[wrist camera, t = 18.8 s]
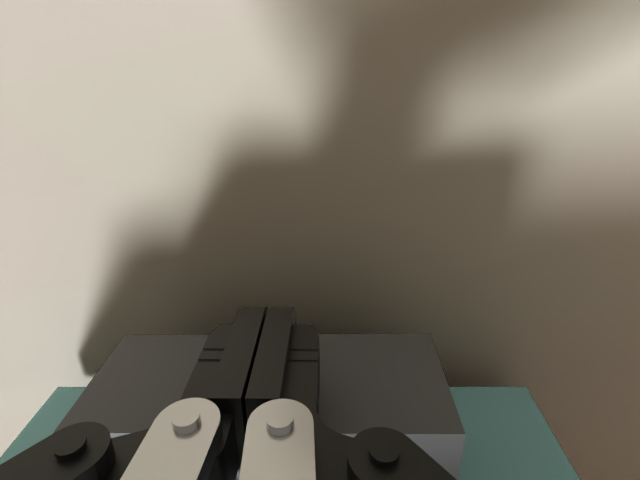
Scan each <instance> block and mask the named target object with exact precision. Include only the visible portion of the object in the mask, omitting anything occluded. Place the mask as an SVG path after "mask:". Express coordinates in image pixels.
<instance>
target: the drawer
mask: <svg viewBox="0 0 640 480" xmlns="http://www.w3.org/2000/svg"><path fill="white" fill-rule="evenodd" d="M318 335H319V347H320V391H319V415H318V416H319V418H320V419H321V420H322V422H323V423H324V424H325V425H326V426H327V427H329V428H330V429H332V430H334V431H335V432H338V433H340V434H343V435H346V436H350V437H353V438H354V437H355V436H356V435H357V434H358V433H360V432H361V431H363V430H365V429H368V428H373V427H387V428H391V429H395V430H397V431H400V432H401V433H403V434H405V435H406V436H407V437H409V438H410V439H411V440H412V441H413V442H414V443H416V444H417V445H418V446H419V447H420V448H421V449H422V450H424V451H425V452H426V453H427V454H428V455H429V456H430V457H432V458H433V459H434V460H435V461H436V462H437V463H438V464H440V465H441V466H442V467H443V468H444V469H445V470H446V471H448V472H449V473H450V474H451V475H452V476H453V477H454V478H455V479H457V480H580V479H579V477H578V475H577V474H576V472H575V470H574V469H573V467H572V465H571V463H570V462H569V460H568V458H567V456H566V455H565V453H564V451H563V450H562V448H561V446H560V444H559V443H558V441H557V439H556V438H555V436H554V434H553V432H552V431H551V429H550V427H549V425H548V424H547V422H546V420H545V419H544V417H543V415H542V413H541V412H540V410H539V408H538V406H537V405H536V403H535V401H534V400H533V398H532V396H531V394H530V393H529V391H528V389H527V388H526V387H449V385H448V383H447V380H446V377H445V374H444V371H443V368H442V365H441V363H440V360H439V357H438V354H437V351H436V348H435V345H434V343H433V340H432V337H431V334H318ZM207 337H208V335H124V337H123V338H122V339H121V341H120V342H119V343H118V345H117V346H116V347H115V349H114V350H113V352H112V353H111V354H110V356H109V357H108V358H107V360H106V361H105V362H104V364H103V365H102V367H101V368H100V369H99V371H98V372H97V373H96V375H95V376H94V377H93V379H92V380H91V382H90V383H89V384H88V386H87V387H58V388H57V389H56V390H55V391H54V393H53V394H52V395H51V396H50V397H49V399H48V400H47V401H46V402H45V404H44V405H43V406H42V407H41V408H40V410H39V411H38V412H37V413H36V415H35V416H34V417H33V418H32V419H31V421H30V422H29V423H28V424H27V426H26V427H25V428H24V429H23V430H22V432H21V433H20V434H19V435H18V437H17V438H16V439H15V440H14V441H13V443H12V444H11V445H10V446H9V448H8V449H7V450H6V451H5V452H4V454H3V455H2V456H1V457H0V465H1V464H2V463H4V462H6V461H7V460H9V459H11V458H12V457H14V456H16V455H18V454H19V453H21V452H23V451H24V450H26V449H28V448H29V447H31V446H33V445H35V444H36V443H38V442H40V441H41V440H43V439H45V438H47V437H48V436H50V435H52V434H53V433H55V432H57V431H59V430H61V429H62V428H65V427H67V426H69V425H72V424H76V423H80V422H97V423H100V424H103V425H104V426H105V427H107V429H108V430H109V433H110V436H111V438H114V437H118V436H122V435H126V434H130V433H134V432H138V431H142V430H145V429H148V428H150V427H151V425H152V424H153V422H154V420H155V419H156V417H157V416H158V415H159V413H160V412H161V411H162V410H164V409H165V408H166V407H168V406H169V405H171V404H173V403H175V402H177V401H180V399H181V396H182V394H183V392H184V389H185V387H186V385H187V383H188V380H189V378H190V376H191V374H192V371H193V369H194V367H195V365H196V362H198V358H199V355H200V353H201V351H203V346H204V344H205V342H206V340H207ZM236 480H239V477H236Z"/></svg>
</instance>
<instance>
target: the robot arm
mask: <svg viewBox="0 0 640 480" xmlns="http://www.w3.org/2000/svg"><path fill="white" fill-rule="evenodd" d="M319 391H320V347H319V335H318V333H317V331H316V330H315V328H314V327H313V325H296V316H295V307H268V309H267V307H250V306H241V307H240V308H239V311H238V313H237V316H236V319H235V321H234V324H220V325H219V326H218V327H217V328H216V329H215V330H214V331H213V332H212V333H210V334H209V335H208V337H207V340H206V342H205V344H204V346H203V351H201V353H200V355H199V358H198V362H196V365H195V367H194V369H193V371H192V374H191V376H190V378H189V380H188V383H187V385H186V387H185V389H184V392H183V394H182V396H181V399H180V401H177V402H175V403H173V404H171V405H169V406H168V407H166V408H165V409H164V410H162V411H161V412H160V413H159V415H158V416H157V417H156V419H155V420H154V422H153V424H152V425H151V427H150V428H148V429H145V430H142V431H138V432H134V433H130V434H126V435H122V436H118V437H114V438H111V436H110V433H109V430H108V429H107V427H105V426H104V425H103V424H100V423H97V422H80V423H76V424H72V425H69V426H67V427H65V428H62V429H61V430H59V431H57V432H55V433H53V434H52V435H50V436H48V437H47V438H45V439H43V440H41V441H40V442H38V443H36V444H35V445H33V446H31V447H29V448H28V449H26V450H24V451H23V452H21V453H19V454H18V455H16V456H14V457H12V458H11V459H9V460H7V461H6V462H4V463H2V464H1V465H0V480H236V477H239V480H457V479H455V478H454V477H453V476H452V475H451V474H450V473H449V472H448V471H446V470H445V469H444V468H443V467H442V466H441V465H440V464H438V463H437V462H436V461H435V460H434V459H433V458H432V457H430V456H429V455H428V454H427V453H426V452H425V451H424V450H422V449H421V448H420V447H419V446H418V445H417V444H416V443H414V442H413V441H412V440H411V439H410V438H409V437H407V436H406V435H405V434H403V433H401V432H400V431H397V430H395V429H391V428H387V427H373V428H368V429H365V430H363V431H361V432H360V433H358V434H357V435H356V436H355V437H354V438H353V437H350V436H346V435H343V434H340V433H338V432H335V431H334V430H332V429H330V428H329V427H327V426H326V425H325V424H324V423H323V422H322V420H321V419H320V418H319V416H318V415H319Z"/></svg>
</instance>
